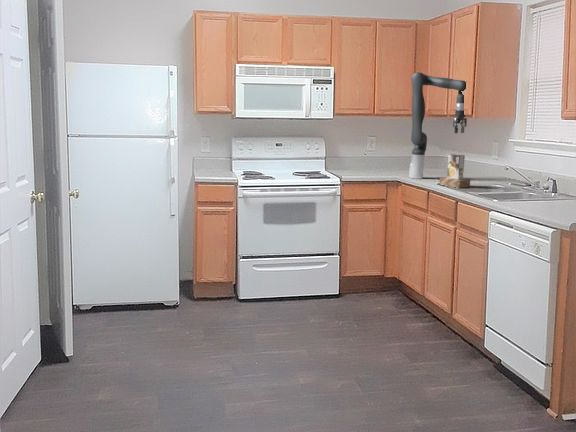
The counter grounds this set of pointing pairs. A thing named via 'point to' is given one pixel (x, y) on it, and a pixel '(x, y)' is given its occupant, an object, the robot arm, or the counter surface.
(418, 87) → the robot arm
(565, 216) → the counter surface
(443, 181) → the light brown square block
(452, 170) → the coffee box
